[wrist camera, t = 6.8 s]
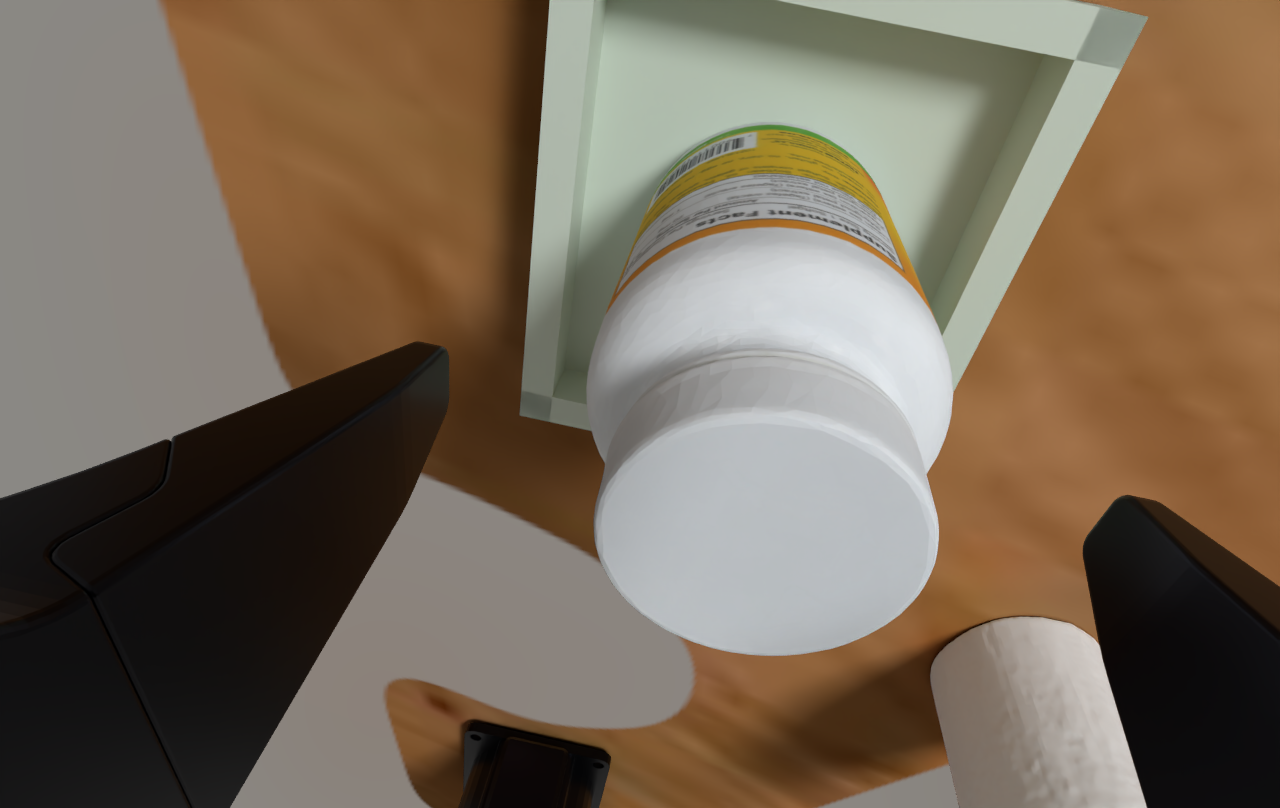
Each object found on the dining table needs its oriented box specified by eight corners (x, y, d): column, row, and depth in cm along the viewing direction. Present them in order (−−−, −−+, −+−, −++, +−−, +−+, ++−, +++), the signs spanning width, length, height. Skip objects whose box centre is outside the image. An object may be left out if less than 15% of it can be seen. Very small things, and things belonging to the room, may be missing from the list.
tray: (887, 449, 19) (898, 497, 18) (539, 374, 20) (519, 415, 18) (1100, 5, 13) (1148, 16, 11) (582, -98, 13) (556, -102, 12)
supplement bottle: (824, 368, 18) (874, 734, 10) (621, 305, 17) (503, 625, 10) (931, 160, 14) (1131, 451, 7) (683, 81, 14) (586, 283, 6)
